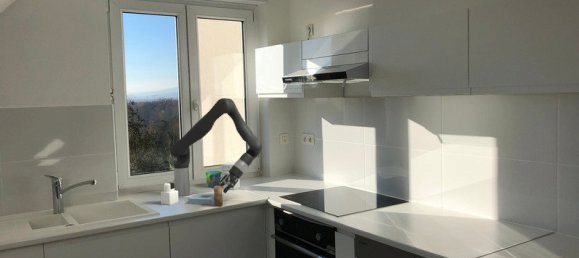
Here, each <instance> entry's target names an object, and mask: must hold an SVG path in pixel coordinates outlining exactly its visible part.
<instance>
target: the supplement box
mask: <svg viewBox="0 0 579 258" xmlns="http://www.w3.org/2000/svg"><path fill="white" fill-rule="evenodd" d="M235 163H236V162H225V163H221V165H220V167H221V170H220V171H221V172H222V174H221V179H222V178H223V177H224V176H225V175H226V174H227V175H229V174H230V173H229V170H230V169H231V168H232V166H233V165H234V164H235ZM240 179H241V177H240V178H239V179H238V182H237V183H236V185H235V186H234V187H233V188H231V189H229V190H230V191H235V190H237V189H239V188H240V187H241V185H240V184H241V180H240ZM226 186H227V184H226V185H224V186H223V187H222V190H224V189H225V187H226ZM232 186H233V185H232ZM240 189H241V188H240ZM229 190H228V191H229Z"/></svg>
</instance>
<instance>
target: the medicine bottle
mask: <svg viewBox="0 0 579 258" xmlns="http://www.w3.org/2000/svg"><path fill="white" fill-rule="evenodd" d="M178 203H179V196H178V191H176V190H175V187H174V183H173V181H172V182H165V183H164V184H163V190H162V191H161V192H160V204H161V205H167V206H171V205H174V204H178Z"/></svg>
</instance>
